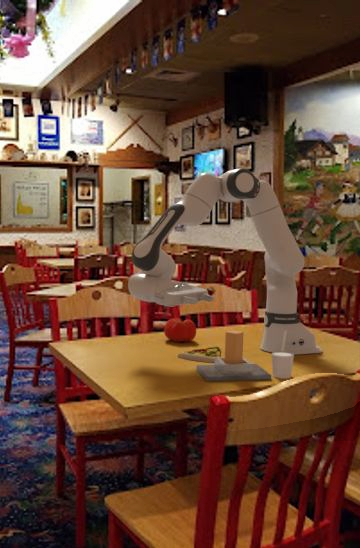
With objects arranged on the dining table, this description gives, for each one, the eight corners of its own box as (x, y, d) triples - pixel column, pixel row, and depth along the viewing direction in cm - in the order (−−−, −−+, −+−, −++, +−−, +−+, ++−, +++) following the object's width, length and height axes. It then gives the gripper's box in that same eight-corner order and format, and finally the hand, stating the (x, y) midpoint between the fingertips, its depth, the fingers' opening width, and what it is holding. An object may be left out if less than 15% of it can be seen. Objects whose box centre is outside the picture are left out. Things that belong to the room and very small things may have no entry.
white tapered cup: (268, 373, 203) (269, 351, 203) (289, 373, 204) (290, 351, 203) (273, 378, 197) (274, 356, 196) (295, 379, 197) (296, 356, 196)
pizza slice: (175, 359, 220) (175, 351, 220) (200, 348, 239) (201, 340, 238) (216, 366, 213) (216, 357, 213) (239, 354, 232) (240, 346, 231)
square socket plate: (256, 368, 209) (256, 354, 208) (271, 379, 195) (271, 365, 195) (196, 369, 205) (196, 355, 204) (207, 381, 191) (207, 366, 191)
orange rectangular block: (230, 367, 203) (232, 330, 201) (241, 369, 200) (243, 332, 199) (224, 370, 199) (225, 332, 198) (235, 372, 197) (236, 333, 196)
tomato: (156, 341, 247) (157, 319, 246) (175, 336, 257) (175, 315, 256) (184, 346, 240) (185, 323, 239) (202, 340, 250) (202, 319, 249)
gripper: (152, 285, 204) (188, 293, 197) (187, 281, 221) (221, 288, 214) (150, 305, 205) (185, 313, 198) (185, 299, 222) (219, 307, 215)
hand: (204, 300), depth 206 cm, fingers open, 8 cm apart
